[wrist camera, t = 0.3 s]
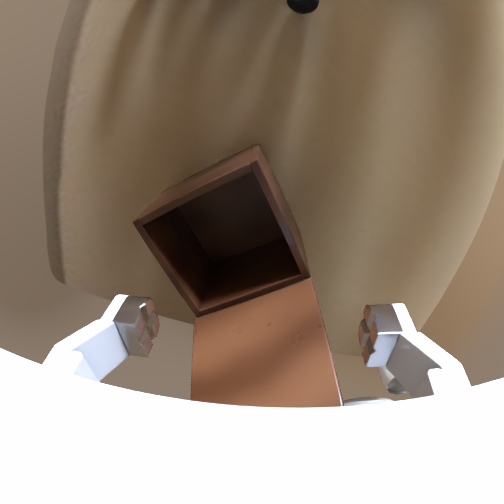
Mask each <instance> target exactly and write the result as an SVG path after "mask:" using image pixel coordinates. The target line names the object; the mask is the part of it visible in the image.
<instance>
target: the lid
mask: <svg viewBox="0 0 504 504" xmlns="http://www.w3.org/2000/svg"><path fill="white" fill-rule="evenodd" d="M191 401H198V402H206V403H215V404H226V405H238V406H254V407H280V408H313V407H340V406H344V403H343V398H342V394H341V390H340V385H339V381H338V377H337V373H336V369H335V364H334V360H333V356H332V352H331V348H330V344H329V340H328V336H327V333H326V329H325V325H324V321H323V317H322V314H321V310H320V306H319V303H318V299H317V295H316V292H315V288H314V285H313V282H312V280H311V279H307V280H305V281H302V282H299V283H297V284H294V285H291V286H289V287H286V288H283V289H280V290H278V291H275V292H272V293H269V294H266V295H264V296H261V297H258V298H255V299H252V300H250V301H247V302H244V303H241V304H238V305H235V306H232V307H229V308H226V309H223V310H221V311H218V312H215V313H212V314H209V315H206V316H203V317H200V318H196V319H195V320H194V336H193V354H192V375H191Z"/></svg>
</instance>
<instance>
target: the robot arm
mask: <svg viewBox="0 0 504 504" xmlns="http://www.w3.org/2000/svg"><path fill="white" fill-rule="evenodd" d="M154 307H155V304H154V301H153V299H151V298H147V297H138V296H127V295H117V296H116V297H115V298H114V300H113V301H112V303H111V304H110V306H109V307H108V309H107V310H106V312H105V314H104V315H103V317H102V318H101V320H96V321H94V322H93V323H91V324H89V325H88V326H86V327H84V328H82V329H81V330H79V331H78V332H76V333H74V334H72V335H71V336H69V337H68V338H66V339H64V340H63V341H61V342H59V343H57V344H56V345H55V346H54V347H53V349H52V350H51V352H50V353H49V355H48V357H47V358H46V360H45V361H44V363H43V365H41V364H38V363H35V362H33V361H30V360H28V359H25V358H22V357H20V356H17V355H15V354H13V353H10V352H8V351H6V350H3V349H1V348H0V504H504V378H502V379H498V380H495V381H491V382H488V383H484V384H481V385H477V386H473V387H471V386H470V384H469V381H468V379H467V376H466V374H465V372H464V369H463V367H462V364H461V363H460V362H458V361H457V360H456V359H455V358H453V357H452V356H451V355H449V354H448V353H447V352H445V351H444V350H443V349H442V348H440V347H439V346H438V345H436V344H435V343H434V342H432V341H431V340H430V339H428V338H427V337H425V336H424V335H423V334H421V333H420V332H416V330H415V327H414V325H413V323H412V321H411V318H410V316H409V314H408V312H407V309H406V307H405V305H404V304H403V303H397V304H378V305H366V307H365V309H364V317H365V318H364V319H363V320H362V321H361V323H360V327H359V341H360V345H361V346H362V347H363V348H364V351H363V358H364V363H365V367H381V366H386V368H387V369H388V370H389V371H390V373H391V374H392V375H393V376H394V377H395V378H396V379H397V380H398V381H399V383H400V384H401V385H402V386H403V387H404V388H405V389H406V390H407V392H408V393H409V394H410V395H411V396H412V397H411V398H410V399H408V400H402V401H394V402H386V403H377V404H367V405H355V406H340V407H313V408H280V407H254V406H238V405H226V404H215V403H206V402H198V401H190V400H183V399H176V398H169V397H164V396H158V395H153V394H148V393H143V392H138V391H133V390H128V389H124V388H119V387H115V386H111V385H107V384H103V383H100V382H99V381H100V380H101V379H103V378H104V377H105V376H106V375H107V374H108V373H109V372H111V371H112V370H113V369H114V368H115V367H116V366H118V365H119V364H120V363H121V362H122V361H123V360H124V359H126V358H127V357H128V356H129V355H135V356H142V357H148V355H149V353H150V350H151V348H152V345H153V344H152V342H151V340H152V339H154V338H155V337H156V336H157V334H158V330H159V318H158V314H157V313H156V312H155V311H154V310H153V309H154Z"/></svg>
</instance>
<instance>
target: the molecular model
mask: <svg viewBox="0 0 504 504" xmlns="http://www.w3.org/2000/svg"><path fill="white" fill-rule="evenodd" d="M287 4H288V6H289V7H290V8H291V9H292V10H293V11H295V12H297V13H302V14H306V13H310V12H312V11H314V10H315V9H316V8H317V6H318V4H319V0H287Z"/></svg>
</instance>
